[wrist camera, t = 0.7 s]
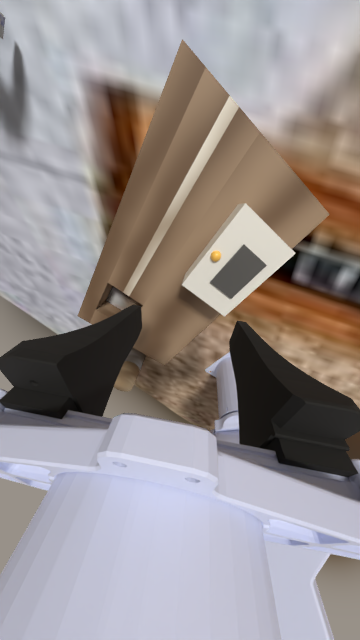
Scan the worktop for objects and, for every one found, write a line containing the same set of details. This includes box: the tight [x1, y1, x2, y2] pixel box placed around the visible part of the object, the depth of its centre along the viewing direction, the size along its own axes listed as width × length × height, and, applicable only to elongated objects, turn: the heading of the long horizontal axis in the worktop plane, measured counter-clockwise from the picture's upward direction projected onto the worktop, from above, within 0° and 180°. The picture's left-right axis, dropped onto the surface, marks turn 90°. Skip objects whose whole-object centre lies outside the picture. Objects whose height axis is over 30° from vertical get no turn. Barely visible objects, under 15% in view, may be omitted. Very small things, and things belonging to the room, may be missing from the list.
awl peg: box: [114, 348, 145, 391], centre depth 26 cm, size 3×3×6 cm
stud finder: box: [182, 203, 295, 316], centre depth 14 cm, size 5×7×3 cm
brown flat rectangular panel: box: [78, 39, 329, 366], centre depth 18 cm, size 14×24×2 cm, turn 145°
